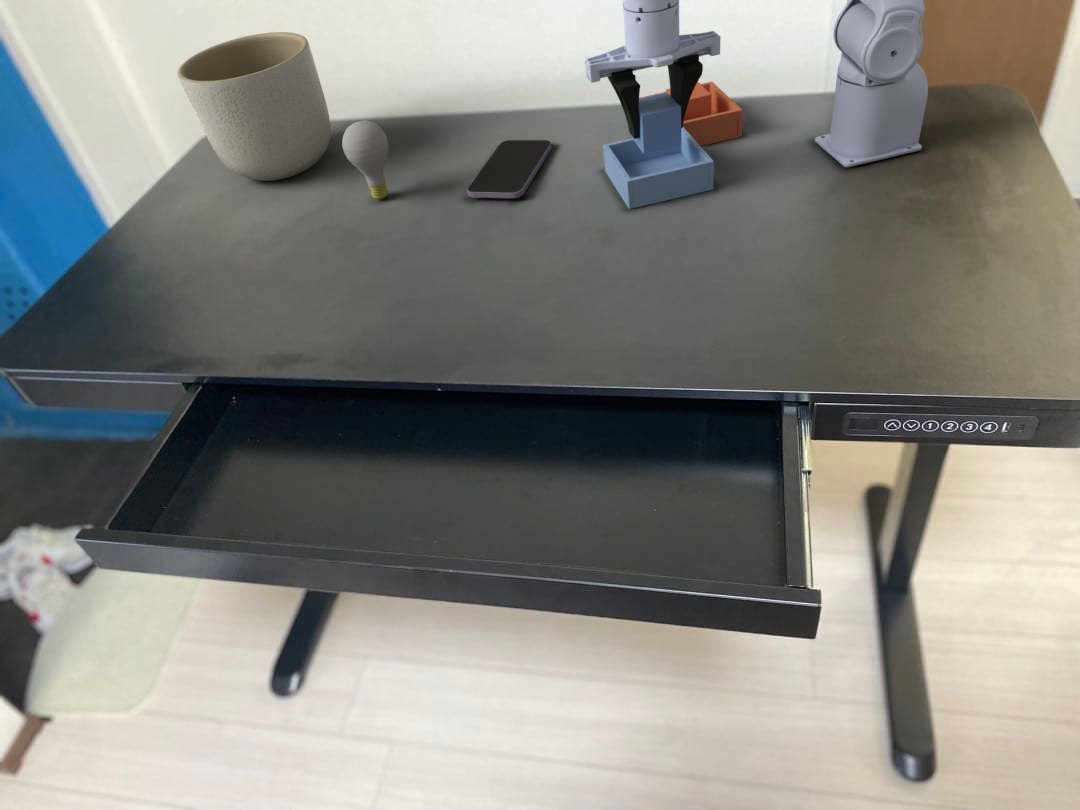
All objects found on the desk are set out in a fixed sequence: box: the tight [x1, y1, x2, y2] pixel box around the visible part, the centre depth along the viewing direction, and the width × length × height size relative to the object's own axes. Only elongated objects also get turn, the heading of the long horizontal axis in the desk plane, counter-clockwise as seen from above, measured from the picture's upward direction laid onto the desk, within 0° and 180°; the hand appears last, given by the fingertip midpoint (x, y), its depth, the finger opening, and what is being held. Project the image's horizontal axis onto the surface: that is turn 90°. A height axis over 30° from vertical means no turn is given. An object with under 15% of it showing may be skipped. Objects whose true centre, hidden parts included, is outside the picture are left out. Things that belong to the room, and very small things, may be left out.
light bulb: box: [341, 120, 389, 201], centre depth 98 cm, size 6×6×10 cm
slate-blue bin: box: [602, 127, 715, 210], centre depth 94 cm, size 10×10×4 cm
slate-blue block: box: [631, 92, 681, 154], centre depth 90 cm, size 4×4×4 cm
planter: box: [177, 31, 332, 182], centre depth 108 cm, size 17×17×15 cm
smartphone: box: [466, 139, 553, 199], centre depth 101 cm, size 7×1×15 cm
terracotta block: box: [665, 81, 711, 121], centre depth 102 cm, size 4×4×4 cm
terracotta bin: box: [639, 81, 743, 147], centre depth 102 cm, size 10×10×4 cm
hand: (655, 130), depth 91 cm, fingers closed on slate-blue block, 4 cm apart
